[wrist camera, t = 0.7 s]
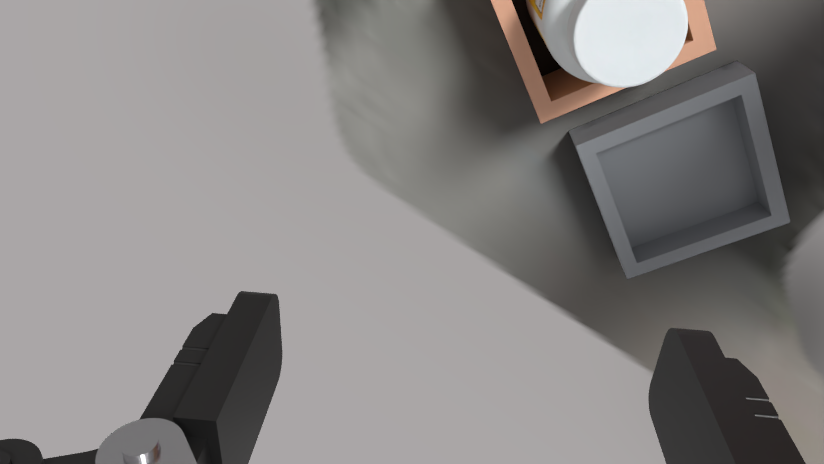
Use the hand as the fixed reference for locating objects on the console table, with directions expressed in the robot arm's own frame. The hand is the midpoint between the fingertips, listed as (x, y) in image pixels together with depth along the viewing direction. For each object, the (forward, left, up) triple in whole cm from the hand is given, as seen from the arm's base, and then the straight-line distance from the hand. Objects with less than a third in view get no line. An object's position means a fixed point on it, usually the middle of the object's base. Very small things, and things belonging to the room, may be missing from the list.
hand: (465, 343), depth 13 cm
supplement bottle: (-7, -1, -23) cm, 24 cm away
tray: (-8, +10, -23) cm, 26 cm away
